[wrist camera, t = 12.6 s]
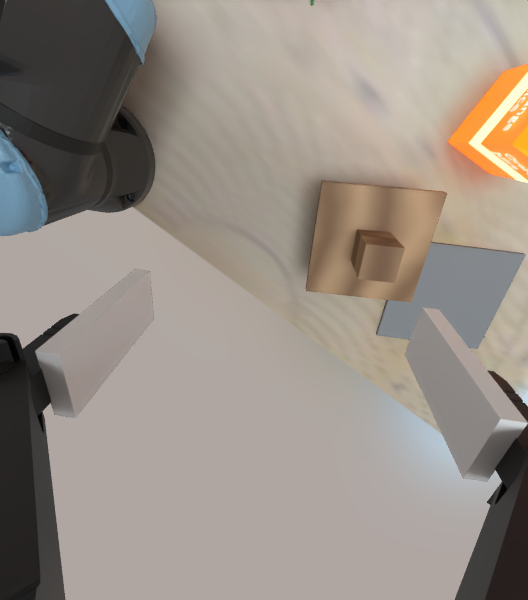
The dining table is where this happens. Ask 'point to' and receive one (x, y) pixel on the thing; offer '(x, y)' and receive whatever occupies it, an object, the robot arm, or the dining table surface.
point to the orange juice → (499, 128)
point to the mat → (455, 291)
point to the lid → (372, 239)
